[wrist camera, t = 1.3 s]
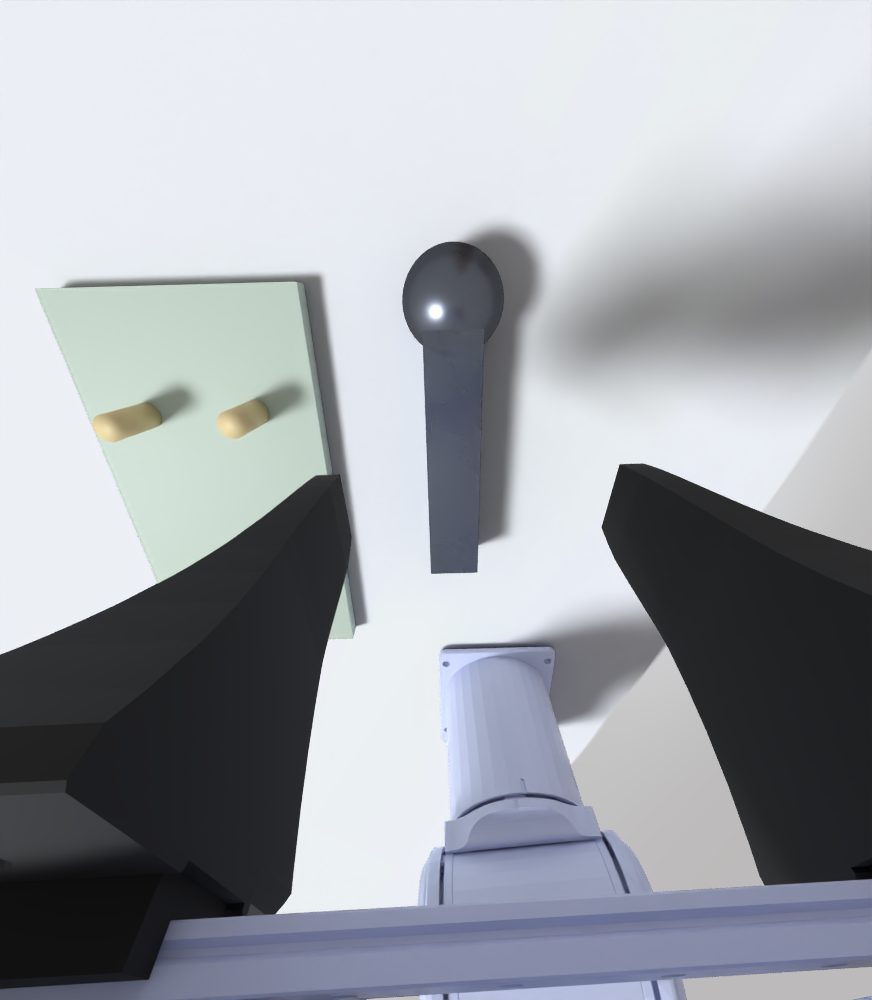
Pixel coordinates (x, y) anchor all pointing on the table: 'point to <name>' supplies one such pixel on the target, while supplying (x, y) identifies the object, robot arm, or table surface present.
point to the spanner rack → (198, 407)
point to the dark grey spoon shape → (453, 388)
